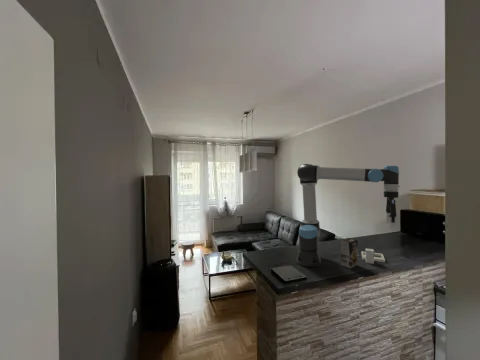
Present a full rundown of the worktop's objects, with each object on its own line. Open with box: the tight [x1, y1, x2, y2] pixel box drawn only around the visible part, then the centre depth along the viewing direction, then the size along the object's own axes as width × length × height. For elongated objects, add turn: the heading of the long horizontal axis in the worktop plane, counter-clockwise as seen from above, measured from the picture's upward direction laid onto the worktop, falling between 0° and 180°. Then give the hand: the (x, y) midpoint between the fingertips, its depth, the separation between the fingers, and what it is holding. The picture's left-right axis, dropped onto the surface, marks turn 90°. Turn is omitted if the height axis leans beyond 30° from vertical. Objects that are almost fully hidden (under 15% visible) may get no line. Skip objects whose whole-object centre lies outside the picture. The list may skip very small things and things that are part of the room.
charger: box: [365, 248, 375, 265], centre depth 144 cm, size 4×4×8 cm
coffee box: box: [340, 237, 359, 269], centre depth 139 cm, size 9×6×16 cm
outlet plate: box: [360, 251, 386, 263], centre depth 151 cm, size 13×12×2 cm
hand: (390, 225), depth 136 cm, fingers open, 13 cm apart
